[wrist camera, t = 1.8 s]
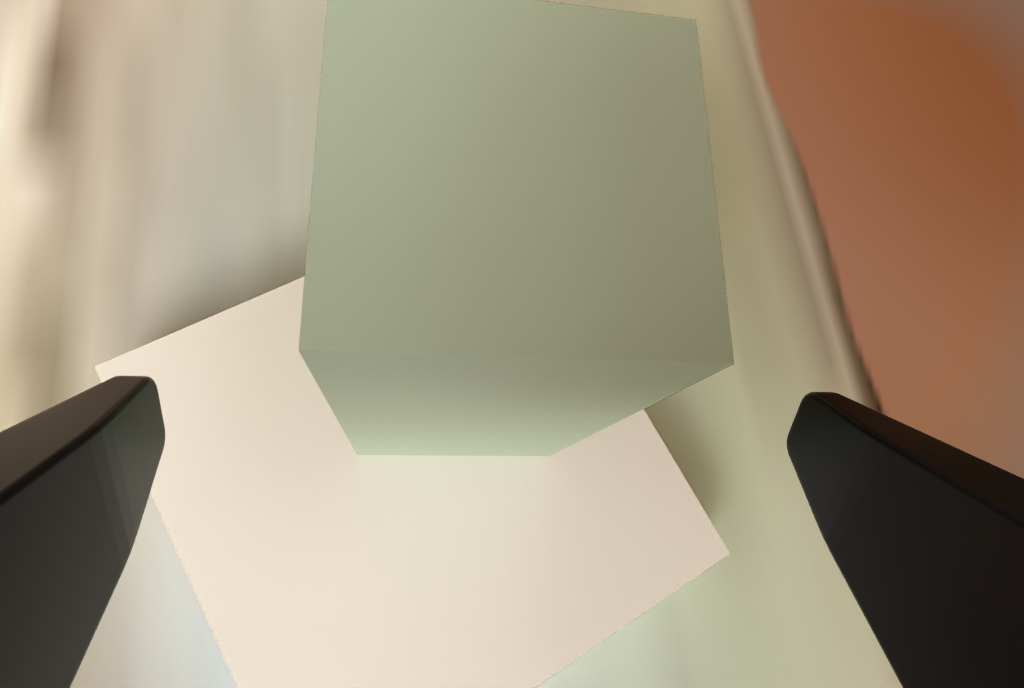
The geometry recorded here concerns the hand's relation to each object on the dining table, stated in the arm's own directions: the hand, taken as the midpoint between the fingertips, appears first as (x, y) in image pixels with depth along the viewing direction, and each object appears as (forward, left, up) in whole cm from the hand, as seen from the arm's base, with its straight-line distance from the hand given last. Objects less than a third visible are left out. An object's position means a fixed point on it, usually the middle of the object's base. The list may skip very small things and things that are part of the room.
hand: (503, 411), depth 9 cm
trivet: (0, +1, -10) cm, 10 cm away
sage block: (+2, -1, -8) cm, 9 cm away
